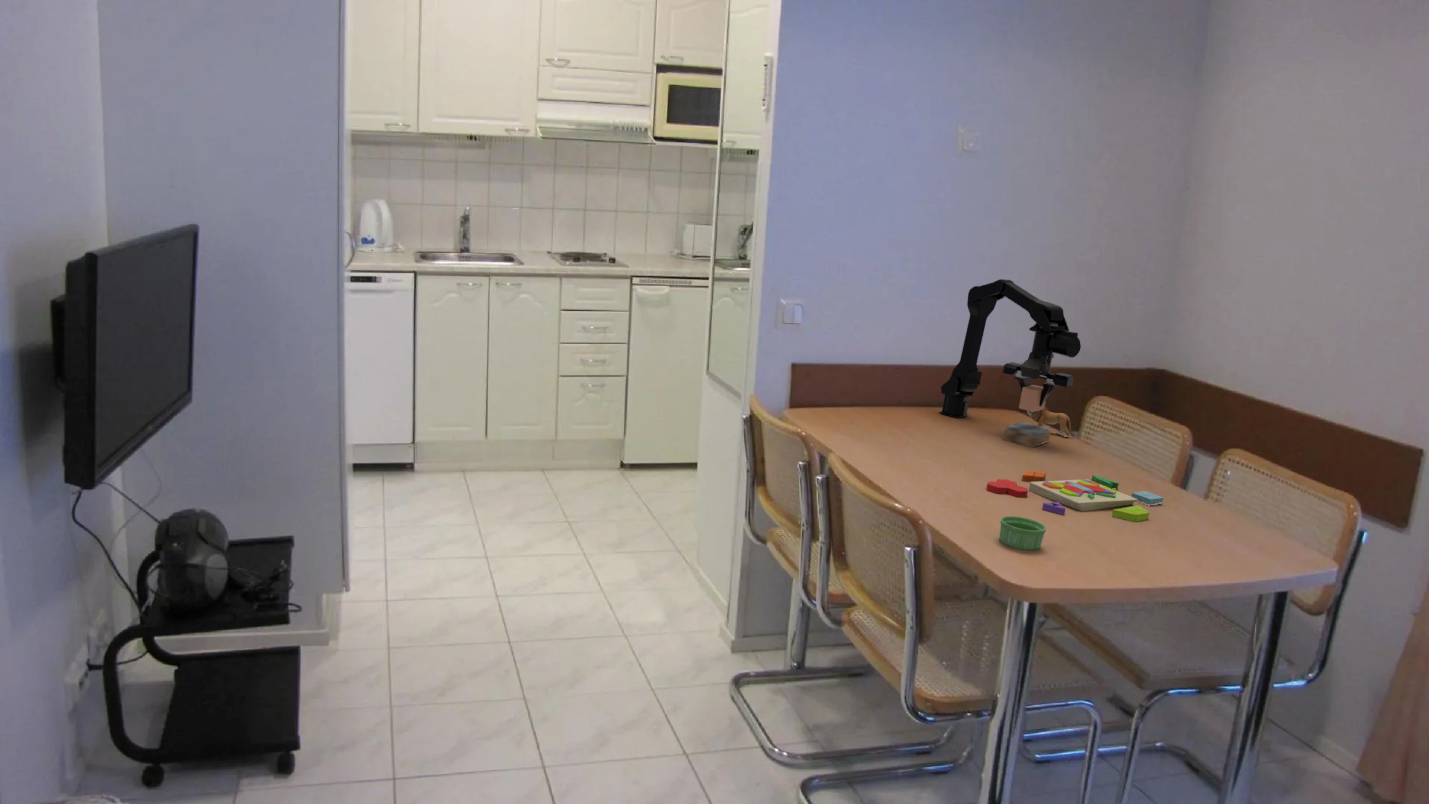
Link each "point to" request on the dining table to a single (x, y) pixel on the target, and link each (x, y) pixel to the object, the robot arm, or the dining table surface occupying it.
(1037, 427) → the base brick
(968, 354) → the robot arm
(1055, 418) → the lion figurine
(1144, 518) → the pattern blocks set
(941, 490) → the dining table surface
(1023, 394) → the terracotta brick
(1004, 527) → the ramekin
